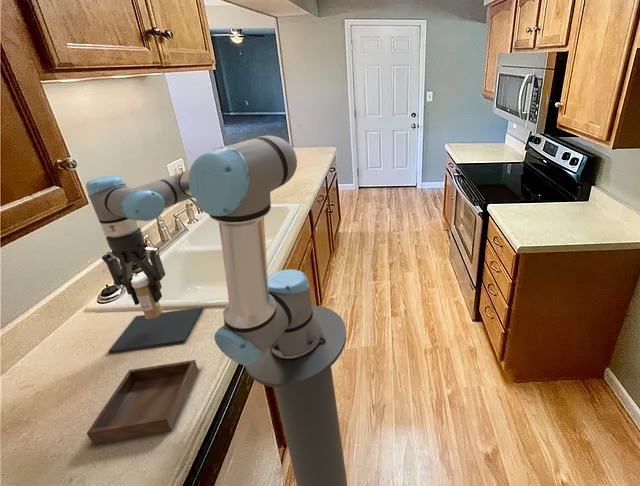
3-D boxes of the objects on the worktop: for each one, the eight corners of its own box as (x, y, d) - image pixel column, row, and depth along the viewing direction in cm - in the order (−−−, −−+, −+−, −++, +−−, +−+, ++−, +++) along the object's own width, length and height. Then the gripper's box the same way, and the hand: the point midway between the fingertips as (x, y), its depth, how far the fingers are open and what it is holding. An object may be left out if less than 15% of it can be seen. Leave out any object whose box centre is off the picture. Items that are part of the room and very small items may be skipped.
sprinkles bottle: (166, 310, 101) (153, 274, 96) (152, 321, 97) (137, 284, 92) (155, 307, 102) (142, 271, 97) (141, 318, 98) (126, 281, 93)
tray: (198, 370, 88) (195, 359, 86) (171, 430, 73) (166, 419, 72) (134, 380, 85) (129, 369, 84) (93, 445, 71) (86, 433, 70)
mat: (203, 309, 110) (202, 307, 109) (185, 342, 97) (184, 340, 97) (137, 317, 107) (136, 315, 106) (109, 353, 94) (108, 350, 94)
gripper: (76, 242, 84) (107, 313, 93) (151, 234, 87) (175, 305, 96) (95, 228, 91) (123, 296, 100) (165, 222, 94) (186, 288, 103)
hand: (148, 300), depth 98 cm, fingers closed on sprinkles bottle, 5 cm apart
